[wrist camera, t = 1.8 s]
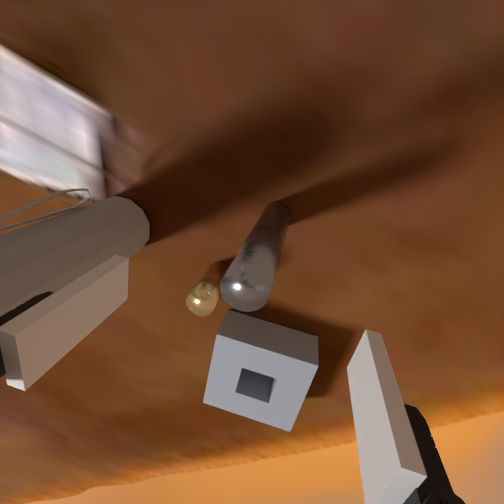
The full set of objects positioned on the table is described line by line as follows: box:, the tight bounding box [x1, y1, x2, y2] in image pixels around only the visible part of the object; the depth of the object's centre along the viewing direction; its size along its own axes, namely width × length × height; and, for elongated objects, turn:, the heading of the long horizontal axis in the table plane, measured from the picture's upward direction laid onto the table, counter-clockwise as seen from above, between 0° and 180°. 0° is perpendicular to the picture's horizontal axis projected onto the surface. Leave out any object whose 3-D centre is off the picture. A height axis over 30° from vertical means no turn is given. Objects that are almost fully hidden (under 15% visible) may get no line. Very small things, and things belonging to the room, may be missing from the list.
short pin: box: [186, 262, 229, 316], centre depth 33 cm, size 3×3×7 cm
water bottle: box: [0, 189, 150, 316], centre depth 24 cm, size 9×8×25 cm
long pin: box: [220, 202, 290, 312], centre depth 24 cm, size 3×3×16 cm
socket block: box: [203, 310, 319, 432], centre depth 38 cm, size 12×12×5 cm
